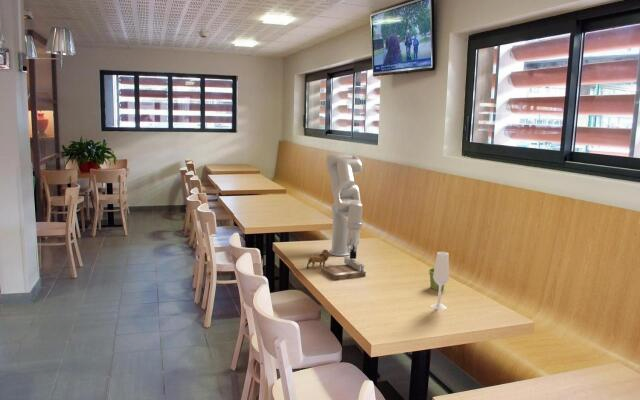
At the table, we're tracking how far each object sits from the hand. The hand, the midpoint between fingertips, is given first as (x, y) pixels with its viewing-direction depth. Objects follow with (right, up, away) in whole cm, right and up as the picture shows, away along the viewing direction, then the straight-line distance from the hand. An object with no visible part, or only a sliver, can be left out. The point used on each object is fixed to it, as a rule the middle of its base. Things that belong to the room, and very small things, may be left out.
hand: (352, 258), depth 277 cm
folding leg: (0, -3, -12) cm, 13 cm away
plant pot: (+38, -11, -32) cm, 51 cm away
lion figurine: (-19, -4, -5) cm, 20 cm away
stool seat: (-6, -6, -16) cm, 18 cm away
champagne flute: (+33, -15, -57) cm, 68 cm away
